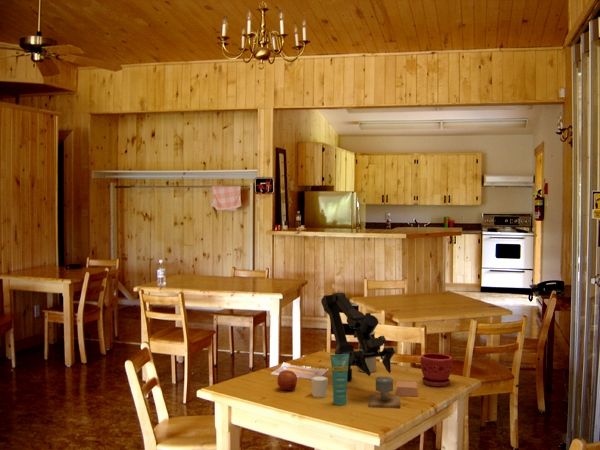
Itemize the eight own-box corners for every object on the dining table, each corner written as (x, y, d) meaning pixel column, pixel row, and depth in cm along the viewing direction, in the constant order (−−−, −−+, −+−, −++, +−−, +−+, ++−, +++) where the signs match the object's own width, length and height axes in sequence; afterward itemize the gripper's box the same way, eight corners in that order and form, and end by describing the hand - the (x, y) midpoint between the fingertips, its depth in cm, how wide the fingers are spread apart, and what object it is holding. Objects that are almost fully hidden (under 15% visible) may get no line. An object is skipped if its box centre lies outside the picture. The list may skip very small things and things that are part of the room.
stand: (397, 395, 241) (397, 387, 241) (396, 389, 249) (396, 381, 249) (417, 396, 240) (417, 387, 240) (416, 390, 248) (416, 381, 248)
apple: (283, 385, 256) (283, 367, 256) (301, 388, 252) (301, 369, 252) (274, 390, 249) (274, 371, 249) (292, 393, 245) (291, 374, 245)
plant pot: (452, 388, 250) (452, 360, 249) (420, 386, 253) (420, 358, 252) (452, 380, 262) (452, 352, 262) (421, 378, 265) (421, 351, 265)
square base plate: (368, 406, 228) (368, 386, 228) (369, 397, 240) (369, 377, 240) (400, 408, 226) (400, 387, 226) (399, 398, 238) (399, 378, 238)
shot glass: (330, 393, 245) (330, 376, 245) (325, 398, 238) (325, 381, 238) (314, 392, 247) (313, 375, 247) (308, 397, 241) (308, 379, 240)
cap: (375, 392, 230) (375, 381, 230) (375, 386, 237) (375, 376, 237) (393, 392, 229) (393, 381, 229) (392, 387, 236) (392, 376, 236)
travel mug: (359, 367, 283) (359, 330, 283) (376, 368, 282) (376, 330, 281) (358, 372, 276) (357, 333, 275) (375, 373, 274) (375, 334, 273)
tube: (332, 406, 229) (332, 356, 229) (329, 402, 234) (328, 353, 234) (351, 404, 231) (350, 354, 231) (347, 400, 236) (347, 351, 235)
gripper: (352, 331, 236) (366, 365, 227) (392, 327, 244) (408, 360, 234) (342, 347, 244) (356, 381, 234) (382, 342, 251) (397, 375, 241)
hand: (380, 374), depth 236 cm, fingers open, 9 cm apart
